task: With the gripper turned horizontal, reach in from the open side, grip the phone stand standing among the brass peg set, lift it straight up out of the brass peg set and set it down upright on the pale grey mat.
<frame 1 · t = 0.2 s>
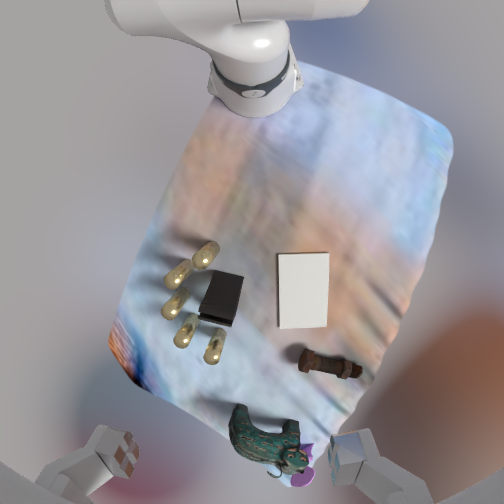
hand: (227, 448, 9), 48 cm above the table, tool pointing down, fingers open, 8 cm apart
bolt: (330, 361, 61), on the table
toy chair: (295, 442, 68), on the table
phone stand: (225, 293, 59), on the table
mat: (303, 291, 57), on the table
green animal figurine: (267, 417, 66), on the table
brass peg set: (225, 293, 59), on the table
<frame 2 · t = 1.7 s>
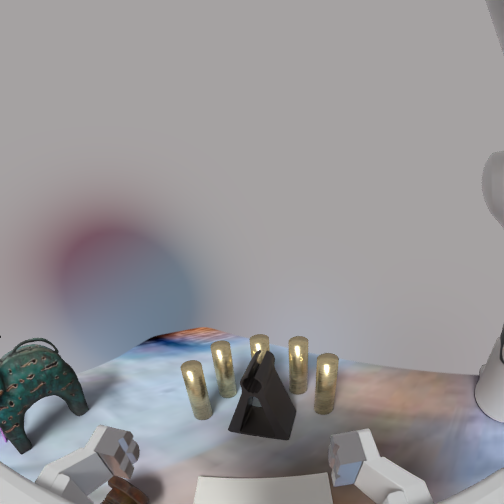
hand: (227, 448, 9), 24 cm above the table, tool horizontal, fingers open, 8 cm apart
phone stand: (263, 423, 37), on the table
green animal figurine: (49, 429, 31), on the table
brass peg set: (263, 422, 37), on the table
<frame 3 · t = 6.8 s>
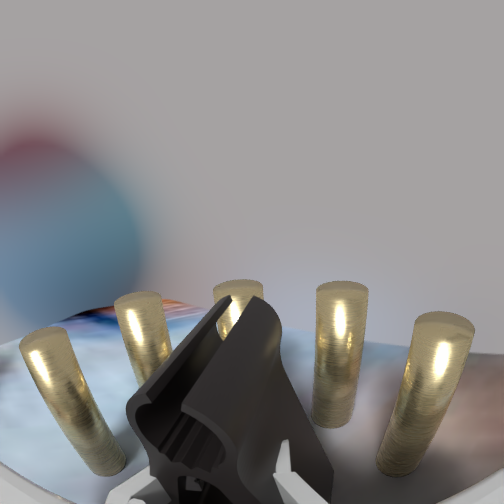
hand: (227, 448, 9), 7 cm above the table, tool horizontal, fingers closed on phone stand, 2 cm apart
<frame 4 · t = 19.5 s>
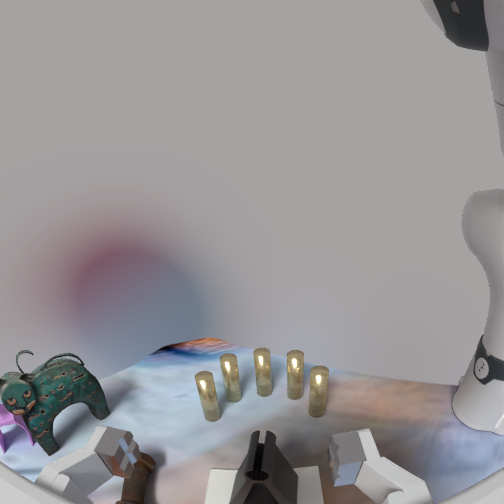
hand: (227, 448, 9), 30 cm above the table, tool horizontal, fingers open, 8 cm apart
bolt: (138, 502, 26), on the table
toy chair: (18, 440, 30), on the table
phone stand: (264, 492, 28), resting on mat
mat: (264, 497, 28), on the table
green animal figurine: (74, 432, 38), on the table
brass peg set: (264, 423, 43), on the table
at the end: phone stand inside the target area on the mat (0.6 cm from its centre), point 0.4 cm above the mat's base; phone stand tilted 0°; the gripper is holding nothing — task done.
